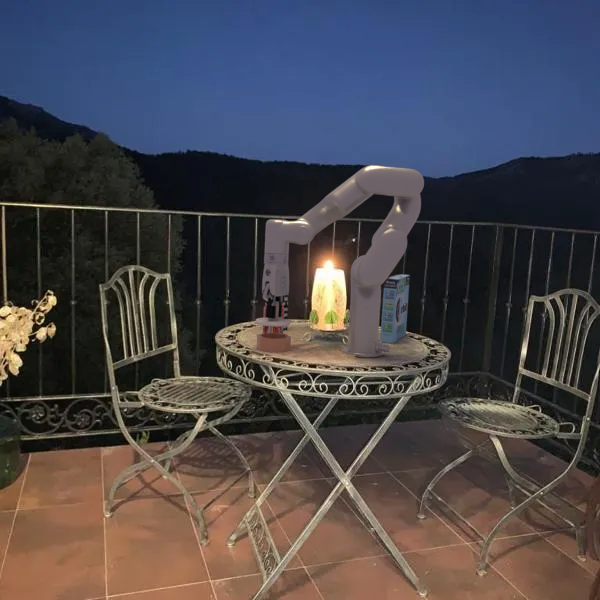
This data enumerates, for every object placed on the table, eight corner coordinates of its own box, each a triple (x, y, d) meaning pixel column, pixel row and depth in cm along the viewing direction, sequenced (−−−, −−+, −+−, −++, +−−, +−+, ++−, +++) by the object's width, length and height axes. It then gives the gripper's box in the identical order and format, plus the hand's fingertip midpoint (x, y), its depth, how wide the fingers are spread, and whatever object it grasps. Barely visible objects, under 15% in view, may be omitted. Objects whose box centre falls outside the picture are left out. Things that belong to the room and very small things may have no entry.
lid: (296, 323, 202) (297, 301, 201) (280, 327, 192) (281, 305, 192) (266, 319, 207) (267, 298, 206) (249, 323, 197) (250, 301, 196)
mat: (321, 347, 210) (321, 344, 210) (308, 352, 201) (308, 350, 201) (294, 343, 214) (294, 341, 214) (280, 348, 205) (280, 346, 205)
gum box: (393, 333, 241) (397, 274, 238) (407, 335, 239) (410, 274, 236) (379, 342, 223) (383, 277, 220) (393, 343, 221) (397, 278, 218)
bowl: (294, 350, 203) (295, 335, 203) (279, 356, 194) (280, 340, 194) (267, 346, 208) (267, 331, 207) (251, 351, 199) (252, 336, 198)
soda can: (284, 338, 222) (285, 302, 221) (281, 342, 215) (283, 304, 214) (264, 337, 223) (265, 301, 221) (261, 341, 216) (262, 303, 214)
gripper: (274, 261, 188) (271, 321, 191) (298, 259, 203) (295, 315, 205) (252, 259, 191) (250, 318, 194) (278, 257, 206) (275, 313, 208)
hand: (273, 316), depth 199 cm, fingers closed on lid, 3 cm apart
